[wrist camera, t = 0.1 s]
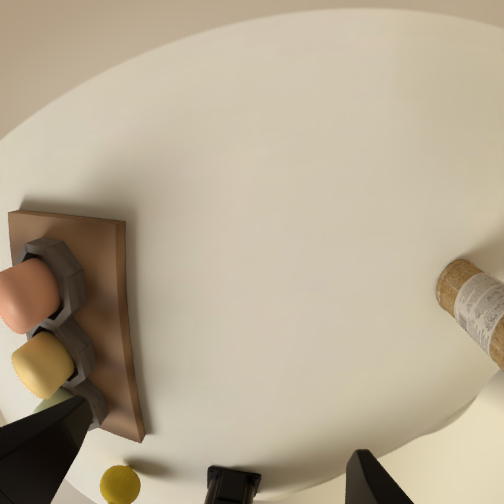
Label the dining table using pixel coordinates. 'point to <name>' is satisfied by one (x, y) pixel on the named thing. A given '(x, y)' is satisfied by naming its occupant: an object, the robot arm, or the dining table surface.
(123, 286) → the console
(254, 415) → the dining table surface
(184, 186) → the dining table surface
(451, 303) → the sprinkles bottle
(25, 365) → the button ochre
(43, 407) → the button sage
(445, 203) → the dining table surface
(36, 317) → the button terracotta
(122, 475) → the lemon
